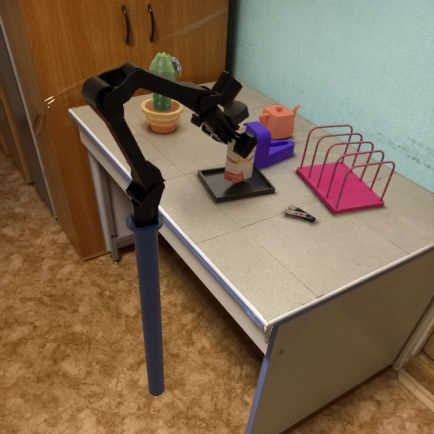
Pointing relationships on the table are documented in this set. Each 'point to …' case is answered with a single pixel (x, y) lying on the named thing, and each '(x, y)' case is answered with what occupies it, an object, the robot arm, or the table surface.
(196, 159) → the table surface
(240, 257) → the table surface
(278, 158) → the bracket
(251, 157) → the ink cartridge box
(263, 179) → the baking tray
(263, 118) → the teapot
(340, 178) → the file sorter
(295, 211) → the usb flash drive
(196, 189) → the table surface
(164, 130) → the potted cactus
